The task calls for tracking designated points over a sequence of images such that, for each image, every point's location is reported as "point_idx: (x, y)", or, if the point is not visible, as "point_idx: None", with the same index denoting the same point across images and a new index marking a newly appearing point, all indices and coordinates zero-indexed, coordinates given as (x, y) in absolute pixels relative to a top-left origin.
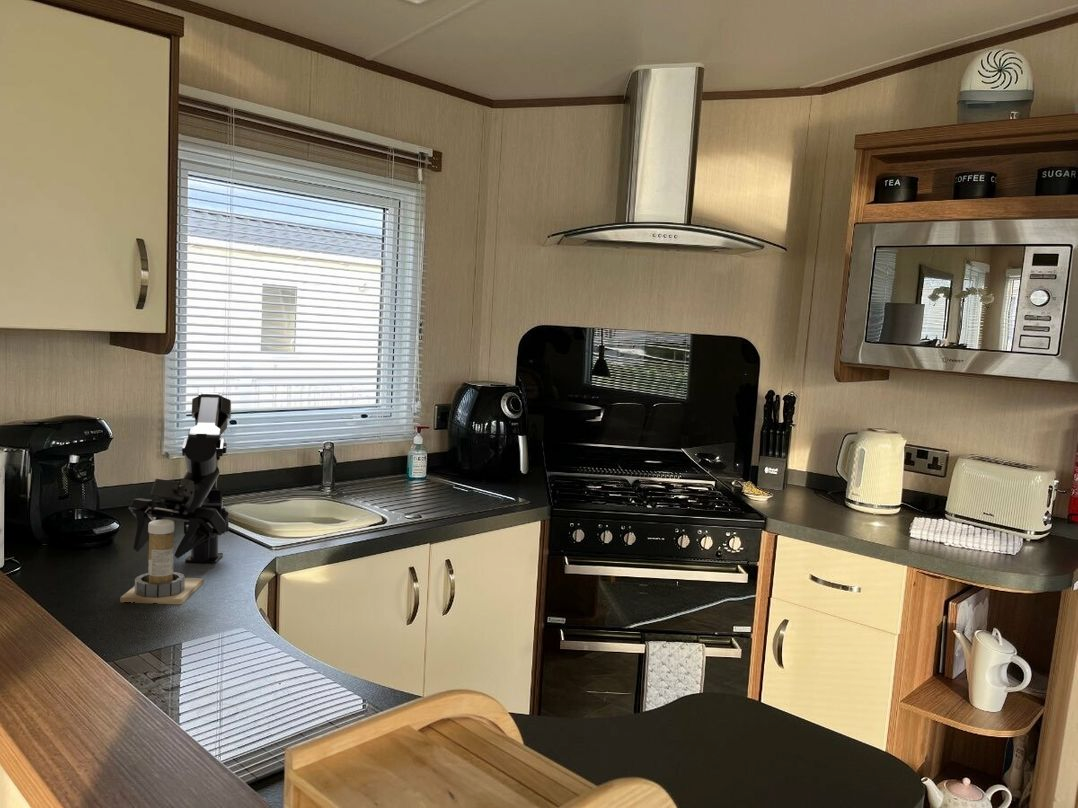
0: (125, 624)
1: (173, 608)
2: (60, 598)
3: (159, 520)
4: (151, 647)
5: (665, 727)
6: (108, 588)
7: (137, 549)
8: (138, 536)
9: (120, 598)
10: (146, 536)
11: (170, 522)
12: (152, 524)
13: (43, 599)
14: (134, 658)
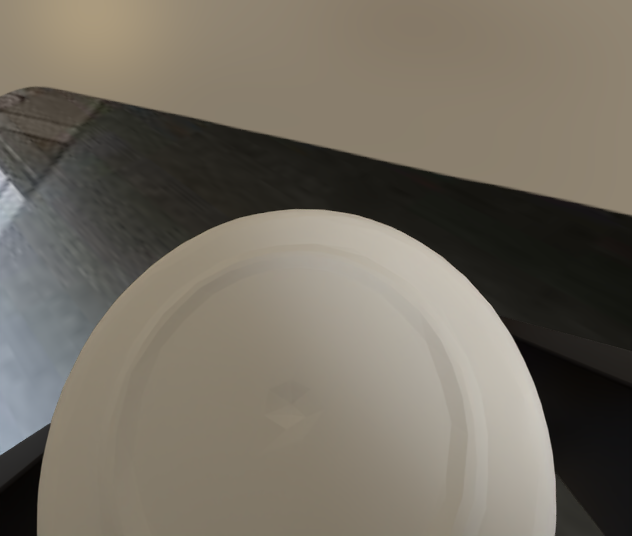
0: (215, 199)
1: None
2: (517, 221)
3: (432, 477)
4: (75, 156)
5: None
6: None
7: None
8: (551, 342)
9: None
10: (586, 462)
11: (87, 512)
12: (293, 212)
13: (536, 195)
14: (75, 117)
